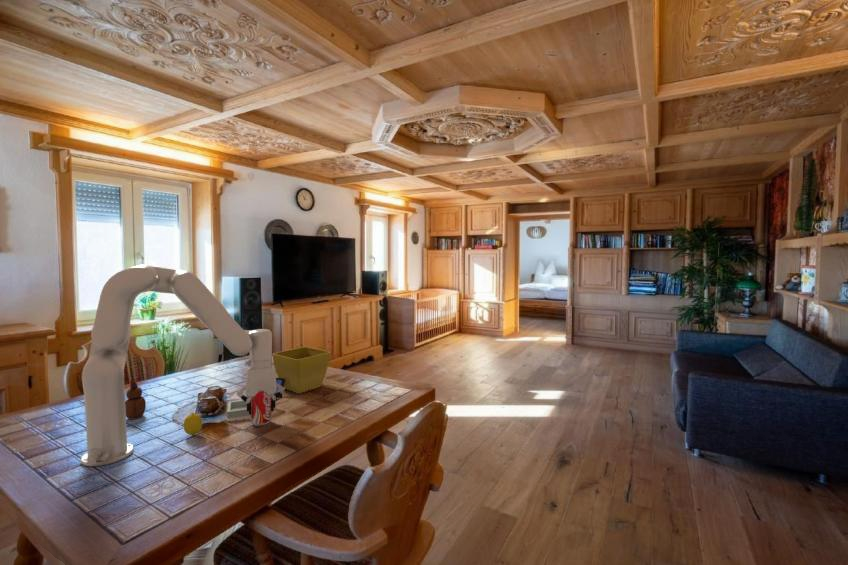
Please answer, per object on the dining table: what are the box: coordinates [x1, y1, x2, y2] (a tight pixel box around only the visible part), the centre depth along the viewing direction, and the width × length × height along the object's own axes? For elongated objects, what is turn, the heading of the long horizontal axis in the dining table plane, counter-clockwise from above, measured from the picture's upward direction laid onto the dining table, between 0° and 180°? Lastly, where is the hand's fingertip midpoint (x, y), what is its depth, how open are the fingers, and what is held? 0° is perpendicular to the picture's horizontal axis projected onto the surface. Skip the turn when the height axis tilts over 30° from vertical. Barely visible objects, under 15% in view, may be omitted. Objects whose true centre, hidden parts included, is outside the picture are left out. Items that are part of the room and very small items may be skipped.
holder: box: [226, 399, 251, 422], centre depth 156 cm, size 13×11×4 cm
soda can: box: [249, 390, 272, 427], centre depth 147 cm, size 7×7×13 cm
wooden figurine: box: [125, 379, 147, 420], centre depth 151 cm, size 7×6×15 cm
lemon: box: [183, 412, 203, 437], centre depth 136 cm, size 6×6×8 cm
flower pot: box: [272, 346, 331, 394], centre depth 186 cm, size 19×19×17 cm
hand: (261, 411), depth 147 cm, fingers closed on soda can, 7 cm apart
